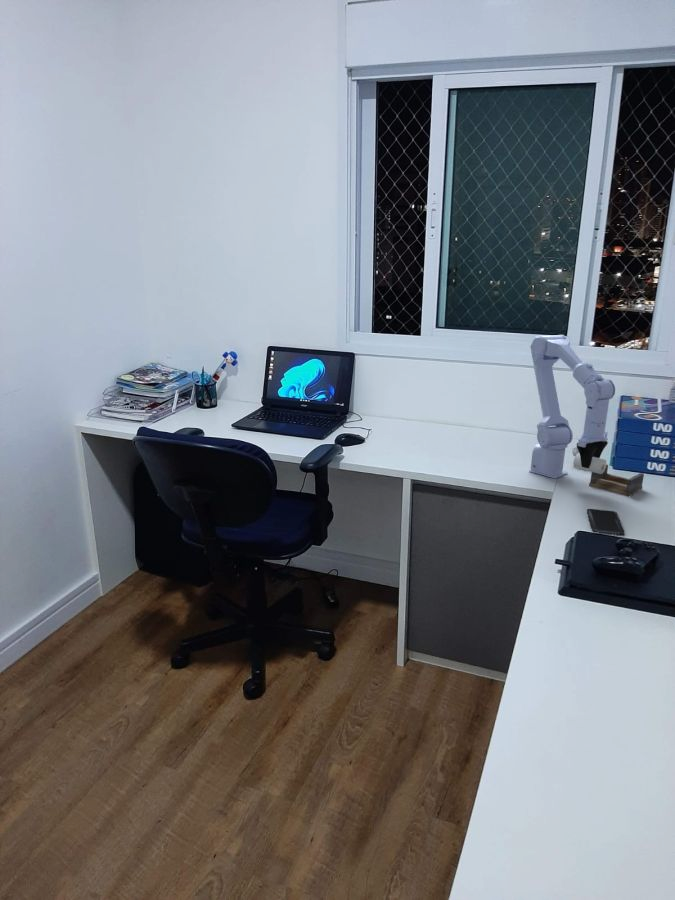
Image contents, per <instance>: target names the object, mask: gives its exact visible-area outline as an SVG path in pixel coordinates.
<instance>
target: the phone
mask: <svg viewBox="0 0 675 900" xmlns="http://www.w3.org/2000/svg"><path fill="white" fill-rule="evenodd" d="M586 515H588V516H587V519H588V518H589V519H588V523H589V522H590V523H589V527H590V530H591V529H592V530H591V532H592V533H595V532H599V533H598V534H603V533H604V535H612V534H614V535H613V536H624V535H625V530H624V529H625V528H624V526H623V525H622V522H621V520H620V516H619V514H618V512H617V511H614V510H605V509H596V508H587V509H586ZM615 534H616V535H615Z"/></svg>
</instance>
